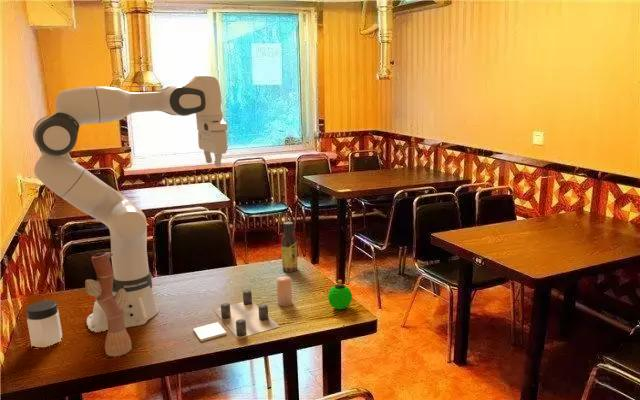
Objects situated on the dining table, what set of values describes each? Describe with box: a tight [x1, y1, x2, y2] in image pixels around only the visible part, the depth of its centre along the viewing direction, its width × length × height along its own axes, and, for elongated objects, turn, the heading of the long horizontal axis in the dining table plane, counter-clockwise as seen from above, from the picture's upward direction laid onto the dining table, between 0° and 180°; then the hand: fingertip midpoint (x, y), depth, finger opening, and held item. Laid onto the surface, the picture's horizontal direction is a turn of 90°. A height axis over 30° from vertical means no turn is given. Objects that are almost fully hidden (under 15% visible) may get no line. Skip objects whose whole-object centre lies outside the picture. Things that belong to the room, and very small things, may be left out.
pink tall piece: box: [84, 251, 133, 357], centre depth 146 cm, size 10×7×30 cm
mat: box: [192, 321, 227, 342], centre depth 158 cm, size 8×8×1 cm
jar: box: [26, 300, 63, 347], centre depth 154 cm, size 9×8×12 cm
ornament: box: [327, 279, 353, 310], centre depth 171 cm, size 8×8×10 cm
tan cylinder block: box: [276, 276, 293, 307], centre depth 176 cm, size 5×5×9 cm
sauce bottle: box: [281, 221, 298, 273], centre depth 207 cm, size 7×6×20 cm
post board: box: [212, 290, 281, 340], centre depth 167 cm, size 14×24×5 cm, turn 29°
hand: (213, 164), depth 176 cm, fingers open, 8 cm apart
